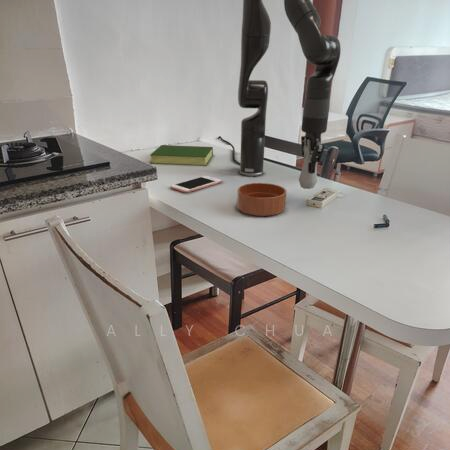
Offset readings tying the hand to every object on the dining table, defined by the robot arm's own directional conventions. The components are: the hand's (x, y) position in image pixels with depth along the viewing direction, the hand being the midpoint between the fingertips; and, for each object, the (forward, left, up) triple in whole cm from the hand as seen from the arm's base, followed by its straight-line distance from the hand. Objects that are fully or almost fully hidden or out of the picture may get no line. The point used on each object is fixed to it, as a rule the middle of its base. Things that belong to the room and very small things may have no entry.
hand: (308, 172), depth 132 cm
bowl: (+3, -16, -10) cm, 19 cm away
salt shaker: (0, 0, -5) cm, 5 cm away
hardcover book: (-65, -34, -10) cm, 74 cm away
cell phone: (-25, -33, -10) cm, 43 cm away
